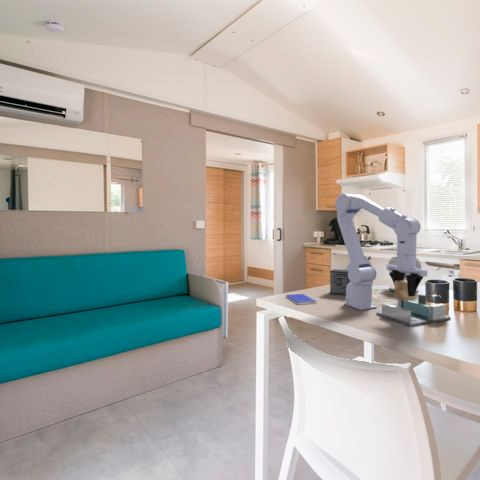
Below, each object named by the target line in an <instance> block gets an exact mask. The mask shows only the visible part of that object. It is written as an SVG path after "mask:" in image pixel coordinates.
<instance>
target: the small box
mask: <svg viewBox="0 0 480 480" xmlns="http://www.w3.org/2000/svg"><path fill="white" fill-rule="evenodd" d="M329 272H330V279H329V281H330V282H329V283H330V284H329V286H330V288H329V289H330V291H329V294H331V295H339V296H346V287H347V285H348V283H350V282H351V281H350V280H349V278H348V269H336V268H335V269H332V270H330V271H329Z"/></svg>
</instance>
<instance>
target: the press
mask: <svg viewBox="0 0 480 480" xmlns="http://www.w3.org/2000/svg"><path fill="white" fill-rule="evenodd" d="M411 301H414V300H411ZM428 305H429V304H428ZM446 313H447V304H444V303H435V304H432V305H429V317H425V316H422V315H419V314H416V313H412V312H411V311H410V310H407V309H404V308H403V300H399V299H397V306H396V305H393V304H391V303H385V302H384V303H381V311H377V312H376V315H377V316H379V317H382V318H384V319H388V320H390V321H393V322H396V323H399V324H401V325H404V326H407V327H410V328H411V327H418V326H423V325H427V324H433V323H438V322H444V321H449V320H451V319H452V317H451V316H448V315H447V314H446Z"/></svg>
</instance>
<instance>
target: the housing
mask: <svg viewBox="0 0 480 480" xmlns="http://www.w3.org/2000/svg"><path fill="white" fill-rule="evenodd" d="M393 286H394V290H393V292H394V293H393V296H394V299H396V300H398V299H399V300H403V301H410V300H413V301H415V300H416V295H415V296H409V295H408V283H407V280H397V281H395V285H394V284H393Z"/></svg>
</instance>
